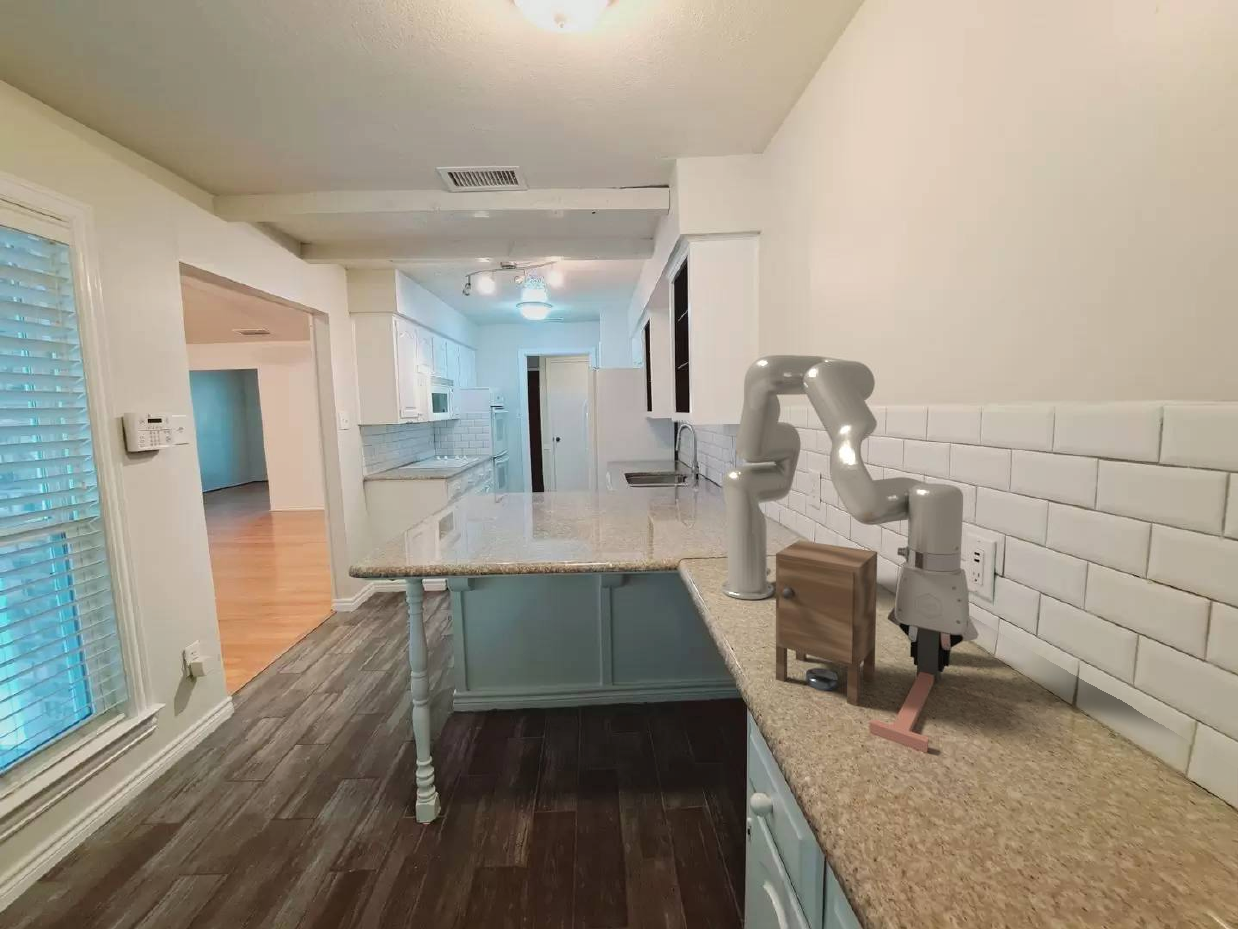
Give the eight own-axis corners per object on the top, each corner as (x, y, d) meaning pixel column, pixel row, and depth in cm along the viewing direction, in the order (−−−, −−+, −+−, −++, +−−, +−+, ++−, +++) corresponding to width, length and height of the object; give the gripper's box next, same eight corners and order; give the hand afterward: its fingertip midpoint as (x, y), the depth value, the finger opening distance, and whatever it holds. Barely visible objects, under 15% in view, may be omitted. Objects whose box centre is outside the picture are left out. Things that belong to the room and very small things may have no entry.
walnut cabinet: (798, 656, 95) (799, 540, 92) (874, 678, 86) (877, 551, 84) (771, 682, 86) (771, 555, 84) (853, 710, 78) (855, 570, 75)
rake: (907, 666, 90) (908, 612, 89) (954, 679, 85) (956, 621, 84) (869, 732, 73) (871, 665, 71) (926, 752, 68) (928, 681, 67)
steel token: (812, 673, 89) (812, 665, 89) (842, 682, 86) (842, 674, 86) (801, 685, 86) (801, 677, 85) (832, 696, 82) (832, 687, 82)
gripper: (873, 556, 87) (871, 660, 89) (991, 574, 76) (986, 691, 78) (885, 546, 92) (882, 644, 94) (996, 562, 82) (991, 671, 84)
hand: (929, 664), depth 86 cm, fingers closed on rake, 2 cm apart
